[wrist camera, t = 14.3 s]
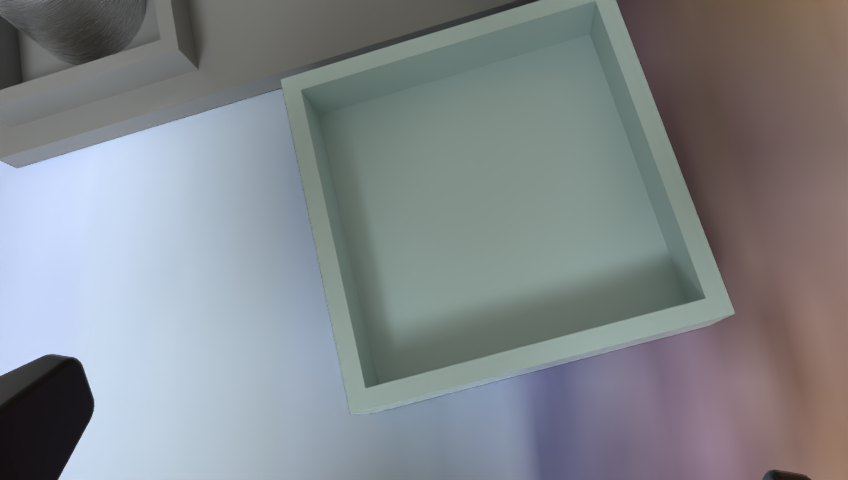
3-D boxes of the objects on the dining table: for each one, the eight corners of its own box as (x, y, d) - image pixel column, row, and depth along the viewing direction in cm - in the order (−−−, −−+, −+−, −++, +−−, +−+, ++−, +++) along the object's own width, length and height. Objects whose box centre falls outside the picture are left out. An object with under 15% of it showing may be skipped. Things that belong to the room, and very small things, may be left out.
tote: (371, 413, 22) (350, 414, 19) (306, 114, 25) (280, 79, 23) (708, 325, 21) (735, 313, 19) (599, 27, 24) (608, -21, 22)
